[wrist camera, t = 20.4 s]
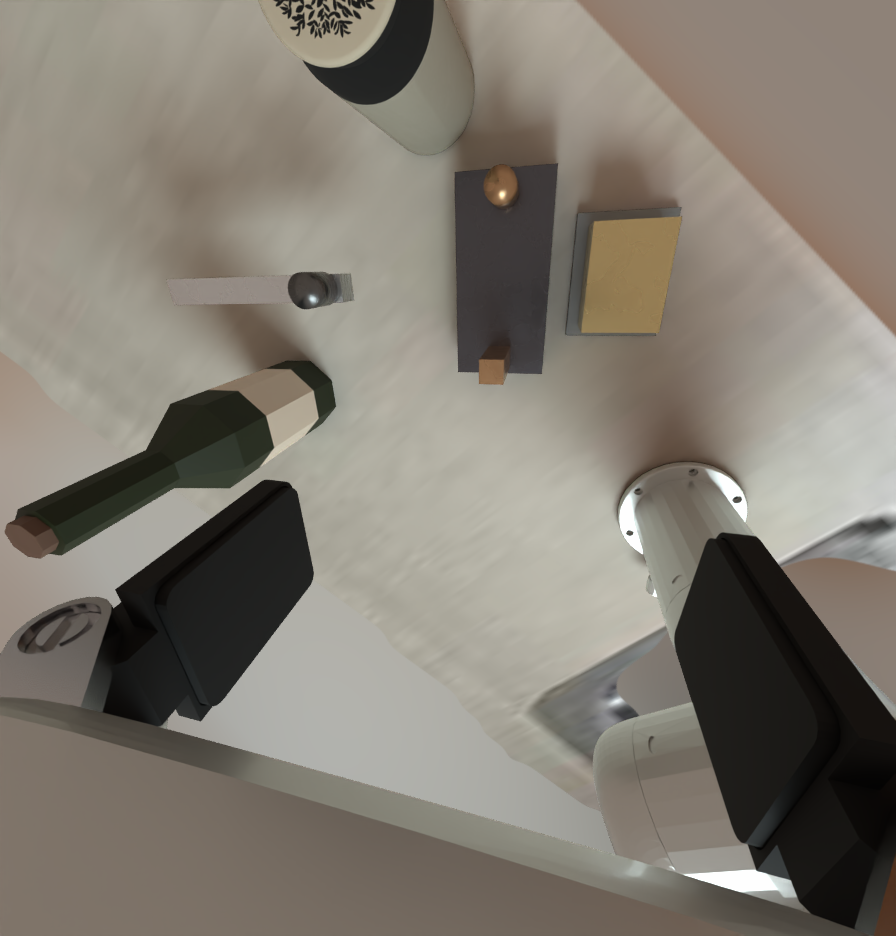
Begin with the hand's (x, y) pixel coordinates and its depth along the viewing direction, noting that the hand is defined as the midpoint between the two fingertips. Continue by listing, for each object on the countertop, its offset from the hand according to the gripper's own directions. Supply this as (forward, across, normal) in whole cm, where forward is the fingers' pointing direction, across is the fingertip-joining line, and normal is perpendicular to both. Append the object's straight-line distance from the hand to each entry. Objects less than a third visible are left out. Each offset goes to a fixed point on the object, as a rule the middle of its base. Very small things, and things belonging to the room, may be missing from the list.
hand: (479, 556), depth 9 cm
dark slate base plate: (+35, +3, -5) cm, 35 cm away
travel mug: (+35, +10, -19) cm, 41 cm away
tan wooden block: (+34, -7, -5) cm, 35 cm away
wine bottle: (+35, +27, +8) cm, 45 cm away
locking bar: (+26, +23, -5) cm, 35 cm away
